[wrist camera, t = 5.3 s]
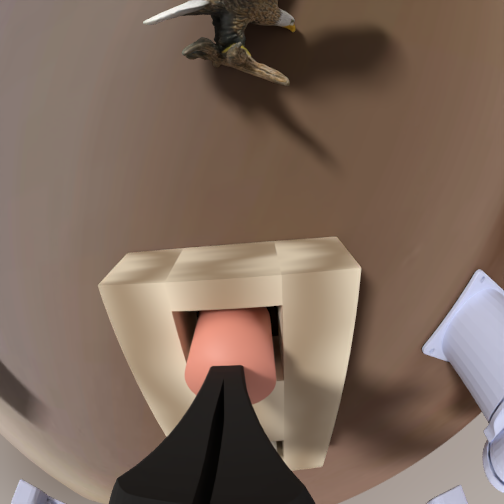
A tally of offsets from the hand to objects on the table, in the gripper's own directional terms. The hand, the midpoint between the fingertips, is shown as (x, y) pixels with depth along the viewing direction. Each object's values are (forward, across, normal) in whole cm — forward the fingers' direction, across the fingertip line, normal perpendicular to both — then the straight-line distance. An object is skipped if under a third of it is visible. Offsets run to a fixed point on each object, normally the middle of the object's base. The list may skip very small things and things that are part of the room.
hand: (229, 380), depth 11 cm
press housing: (+6, 0, +6) cm, 8 cm away
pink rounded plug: (+4, 0, 0) cm, 4 cm away
